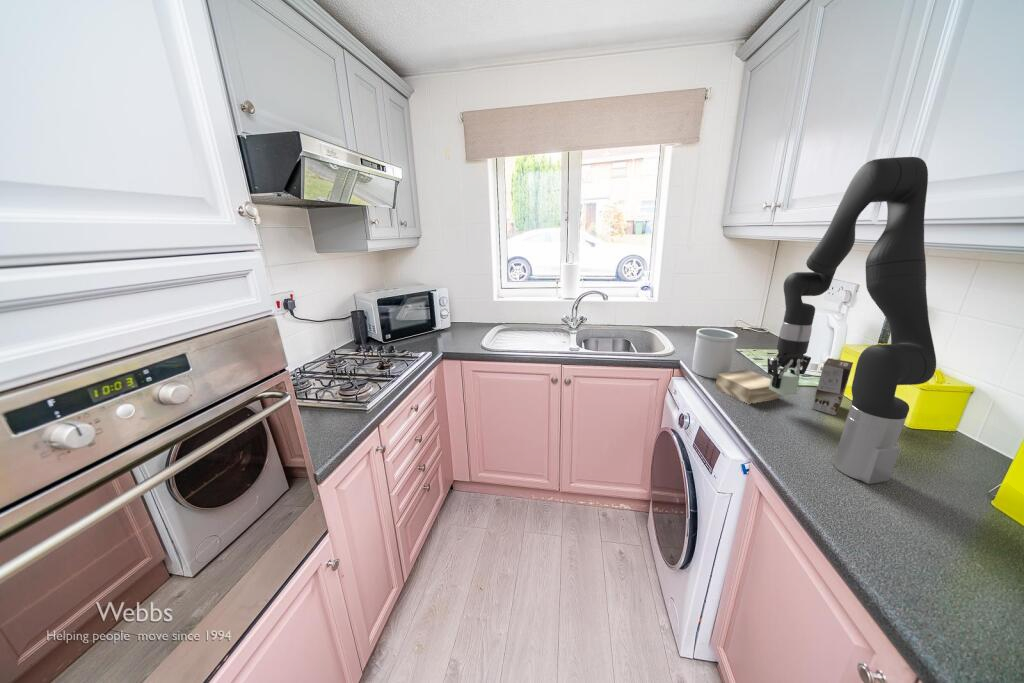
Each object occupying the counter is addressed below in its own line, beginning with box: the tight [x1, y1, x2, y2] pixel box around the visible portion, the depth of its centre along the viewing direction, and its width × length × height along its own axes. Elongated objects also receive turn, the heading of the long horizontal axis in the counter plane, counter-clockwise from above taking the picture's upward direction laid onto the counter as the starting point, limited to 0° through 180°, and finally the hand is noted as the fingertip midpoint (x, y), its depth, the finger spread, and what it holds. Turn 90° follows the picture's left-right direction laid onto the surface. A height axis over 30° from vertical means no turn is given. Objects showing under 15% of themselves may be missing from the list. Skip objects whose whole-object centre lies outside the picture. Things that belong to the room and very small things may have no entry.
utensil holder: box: [691, 327, 739, 379], centre depth 145 cm, size 15×15×18 cm
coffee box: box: [811, 357, 854, 416], centre depth 115 cm, size 9×6×16 cm
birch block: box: [714, 369, 780, 405], centre depth 128 cm, size 14×14×6 cm
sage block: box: [769, 371, 800, 396], centre depth 114 cm, size 5×5×6 cm
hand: (783, 386), depth 114 cm, fingers closed on sage block, 5 cm apart
